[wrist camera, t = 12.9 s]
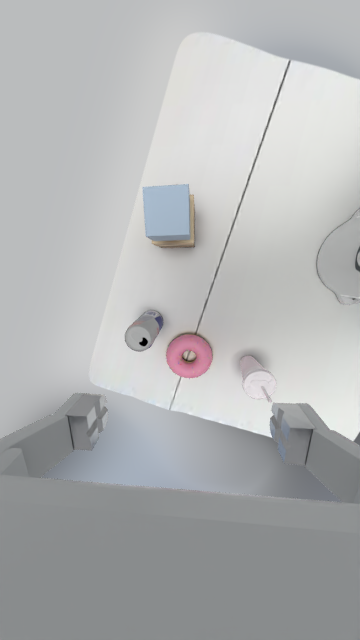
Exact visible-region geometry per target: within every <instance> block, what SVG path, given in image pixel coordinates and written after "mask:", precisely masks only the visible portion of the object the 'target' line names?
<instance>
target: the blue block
mask: <svg viewBox="0 0 360 640" xmlns="http://www.w3.org/2000/svg"><path fill="white" fill-rule="evenodd" d="M143 201H144V215H145V230H146V237H148V238H150V239H152V240H153V241H172V240H190V195H189V185H188V184H184V185H168V186H152V187H143Z"/></svg>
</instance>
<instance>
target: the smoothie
mask: <svg viewBox="0 0 360 640" xmlns="http://www.w3.org/2000/svg"><path fill="white" fill-rule="evenodd" d="M240 366H241V371H242V377H243V380H242V386H243V389H244V391H245V393H246V394H247V395H248V396H250V397H251V398H254V399H264V398H267V400H268V402H270V403H271V402H272V400H271V399H270V397H269V396H270V395H272V394H273V393H274V391H275V389H276V380H275V378H274V376H273V375H272V373H271V372H269V371H268V370H266V369H265V368H264V367H263V366H262V365H261V364H260V363H259V362H258V361H257V360H256V359H255V358H254V357H252V356H244V357H243V358H242V359H241V361H240Z"/></svg>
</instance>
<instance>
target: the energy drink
mask: <svg viewBox="0 0 360 640" xmlns="http://www.w3.org/2000/svg"><path fill="white" fill-rule="evenodd" d="M162 326H163V318H162V316H161V315H160V314H159V313H158V312H156V311H153V310H150V311H147V312H145V313H144V314H143V315H142V316H140V317H139V318H138V319H137V320H136V321H135V322H134V323H133V324H132V325H131V326H130V327H129V328H128V329H127V331H126V333H125V342H126V344H127V345H128V347H129V348H130V349H132V350H134V351H140V352H141V351H144V350H146V349H148V348H150V347H151V345H152V344H153V342H154V340H155V338H156V337H157V335H158V333H159V331H160V329H161V328H162Z"/></svg>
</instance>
